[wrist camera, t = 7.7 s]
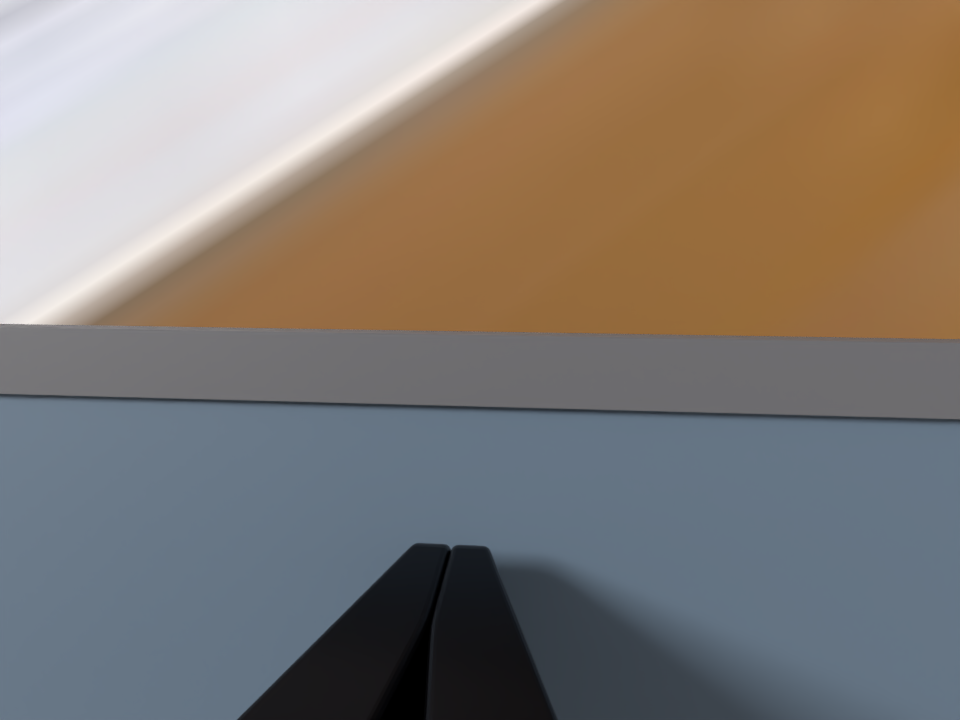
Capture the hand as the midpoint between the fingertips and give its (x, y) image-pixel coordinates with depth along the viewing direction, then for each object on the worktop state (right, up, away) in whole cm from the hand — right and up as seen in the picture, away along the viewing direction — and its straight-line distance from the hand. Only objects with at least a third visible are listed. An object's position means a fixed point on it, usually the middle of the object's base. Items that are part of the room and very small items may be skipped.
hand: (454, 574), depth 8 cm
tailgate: (0, -8, +2) cm, 8 cm away
